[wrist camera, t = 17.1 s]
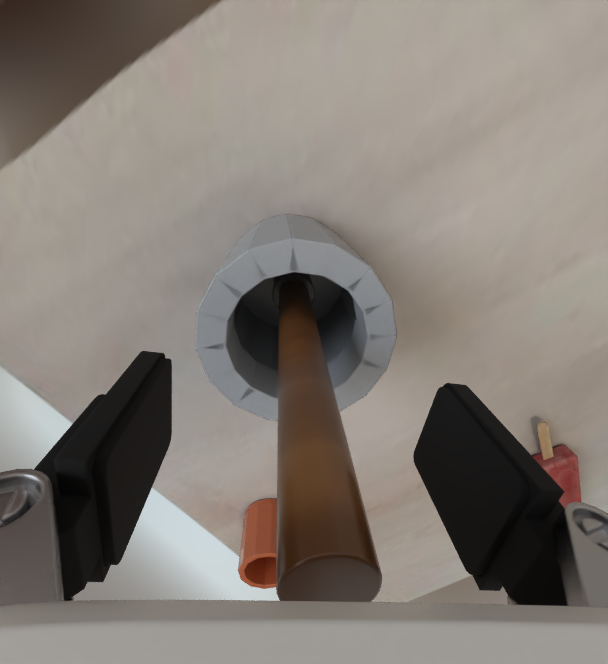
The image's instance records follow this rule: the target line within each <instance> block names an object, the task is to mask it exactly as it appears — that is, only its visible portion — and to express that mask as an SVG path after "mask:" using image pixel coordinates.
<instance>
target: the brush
mask: <svg viewBox="0 0 608 664" xmlns="http://www.w3.org/2000/svg"><path fill="white" fill-rule="evenodd" d="M272 297H273V301H274V303H275V305H276V307H277V308H278V309H279V347H278V459H277V572H276V590H277V595H278V597H279V600H280V601H330V602H371V601H372V600H373V599H374V598H375V597H376V596H377V594H378V593H379V591H380V588H381V584H382V574H381V570H380V566H379V563H378V559H377V555H376V551H375V547H374V543H373V539H372V536H371V532H370V528H369V524H368V520H367V516H366V512H365V509H364V505H363V501H362V497H361V493H360V489H359V485H358V482H357V478H356V474H355V470H354V466H353V462H352V458H351V455H350V451H349V447H348V443H347V439H346V435H345V431H344V428H343V424H342V420H341V416H340V412H339V408H338V404H337V401H336V397H335V393H334V389H333V385H332V381H331V377H330V374H329V370H328V366H327V362H326V358H325V354H324V350H323V347H322V343H321V339H320V335H319V331H318V327H317V324H316V320H315V316H314V312H313V308H312V304H313V302H314V299H315V290H314V286H313V283H312V280H311V277H310V274H305V273H298V272H292V273H288V274H284V275H280V276H276V277H273V292H272Z"/></svg>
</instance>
